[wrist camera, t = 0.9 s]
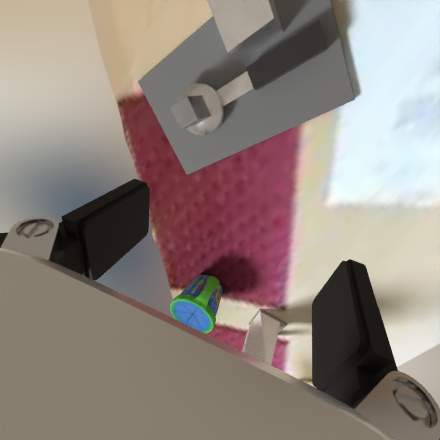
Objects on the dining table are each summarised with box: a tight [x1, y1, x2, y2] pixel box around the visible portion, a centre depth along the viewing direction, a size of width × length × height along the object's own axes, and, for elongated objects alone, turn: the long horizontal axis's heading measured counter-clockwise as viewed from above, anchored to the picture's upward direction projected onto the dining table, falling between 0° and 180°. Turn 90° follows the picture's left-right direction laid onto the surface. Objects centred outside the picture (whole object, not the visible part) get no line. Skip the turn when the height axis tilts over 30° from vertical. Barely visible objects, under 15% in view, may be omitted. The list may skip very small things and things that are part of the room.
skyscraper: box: [242, 309, 287, 365], centre depth 44 cm, size 8×8×28 cm
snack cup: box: [170, 274, 223, 333], centre depth 52 cm, size 16×10×10 cm
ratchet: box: [171, 19, 327, 136], centre depth 29 cm, size 21×7×7 cm, turn 118°
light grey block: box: [207, 0, 284, 59], centre depth 25 cm, size 5×5×7 cm
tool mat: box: [138, 0, 355, 175], centre depth 33 cm, size 28×17×1 cm, turn 118°
